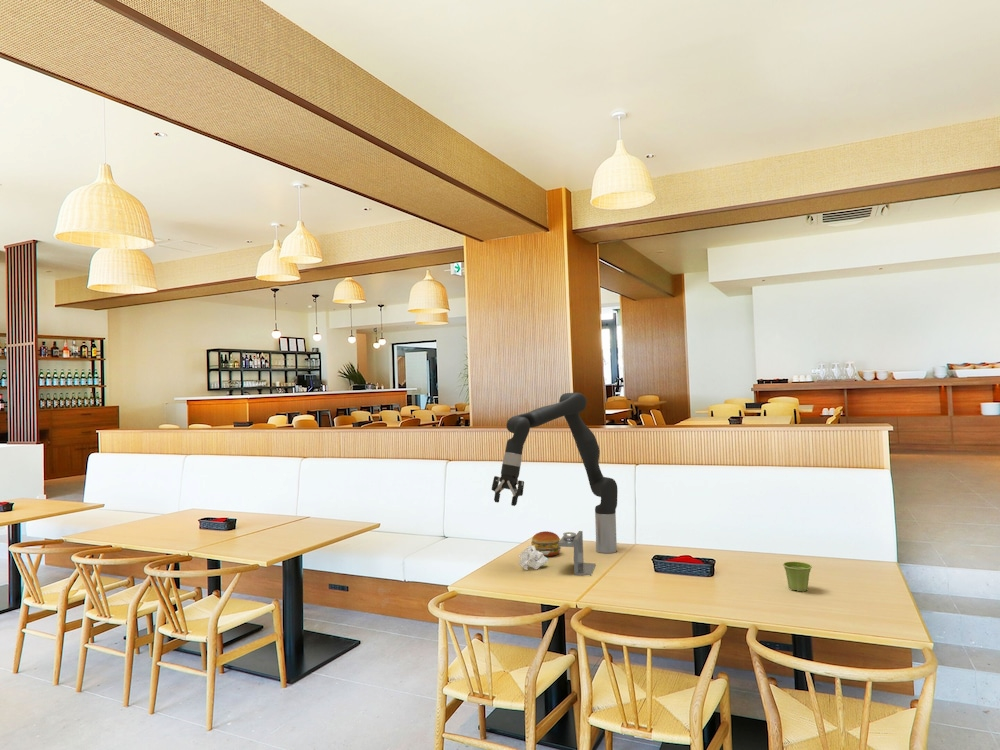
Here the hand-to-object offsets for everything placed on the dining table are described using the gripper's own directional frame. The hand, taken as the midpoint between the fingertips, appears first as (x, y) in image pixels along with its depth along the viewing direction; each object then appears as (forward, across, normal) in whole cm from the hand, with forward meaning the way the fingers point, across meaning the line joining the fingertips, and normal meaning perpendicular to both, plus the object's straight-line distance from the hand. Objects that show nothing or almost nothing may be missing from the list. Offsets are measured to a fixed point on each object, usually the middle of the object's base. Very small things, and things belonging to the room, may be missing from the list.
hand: (504, 503), depth 263 cm
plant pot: (+10, -104, -40) cm, 112 cm away
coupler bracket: (+21, -26, -22) cm, 40 cm away
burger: (+20, -1, -37) cm, 42 cm away
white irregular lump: (+24, -8, -16) cm, 30 cm away
